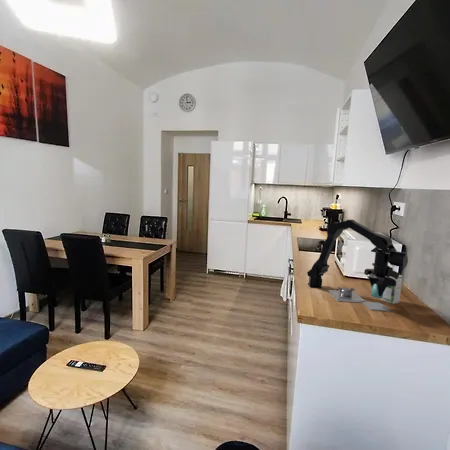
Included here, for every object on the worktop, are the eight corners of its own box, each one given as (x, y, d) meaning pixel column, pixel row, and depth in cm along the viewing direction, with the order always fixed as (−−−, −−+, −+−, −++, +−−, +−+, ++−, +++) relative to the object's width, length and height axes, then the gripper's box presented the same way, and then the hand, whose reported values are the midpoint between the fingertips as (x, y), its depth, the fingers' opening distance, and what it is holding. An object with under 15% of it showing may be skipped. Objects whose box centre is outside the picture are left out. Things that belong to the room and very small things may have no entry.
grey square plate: (337, 301, 143) (338, 291, 142) (327, 291, 157) (328, 283, 156) (365, 302, 143) (366, 293, 142) (353, 292, 156) (354, 284, 156)
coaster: (371, 310, 133) (371, 309, 133) (362, 302, 142) (362, 301, 142) (390, 311, 133) (390, 310, 133) (380, 303, 142) (380, 302, 142)
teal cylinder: (369, 295, 138) (370, 284, 137) (375, 294, 140) (376, 283, 140) (378, 298, 134) (380, 287, 133) (384, 297, 136) (386, 286, 135)
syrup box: (381, 300, 148) (384, 273, 146) (389, 298, 150) (392, 272, 148) (391, 304, 142) (395, 276, 141) (399, 302, 145) (403, 275, 143)
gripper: (410, 268, 126) (405, 302, 127) (387, 258, 144) (383, 288, 146) (385, 267, 126) (381, 301, 128) (365, 257, 144) (362, 287, 146)
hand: (377, 294), depth 137 cm, fingers closed on teal cylinder, 5 cm apart
